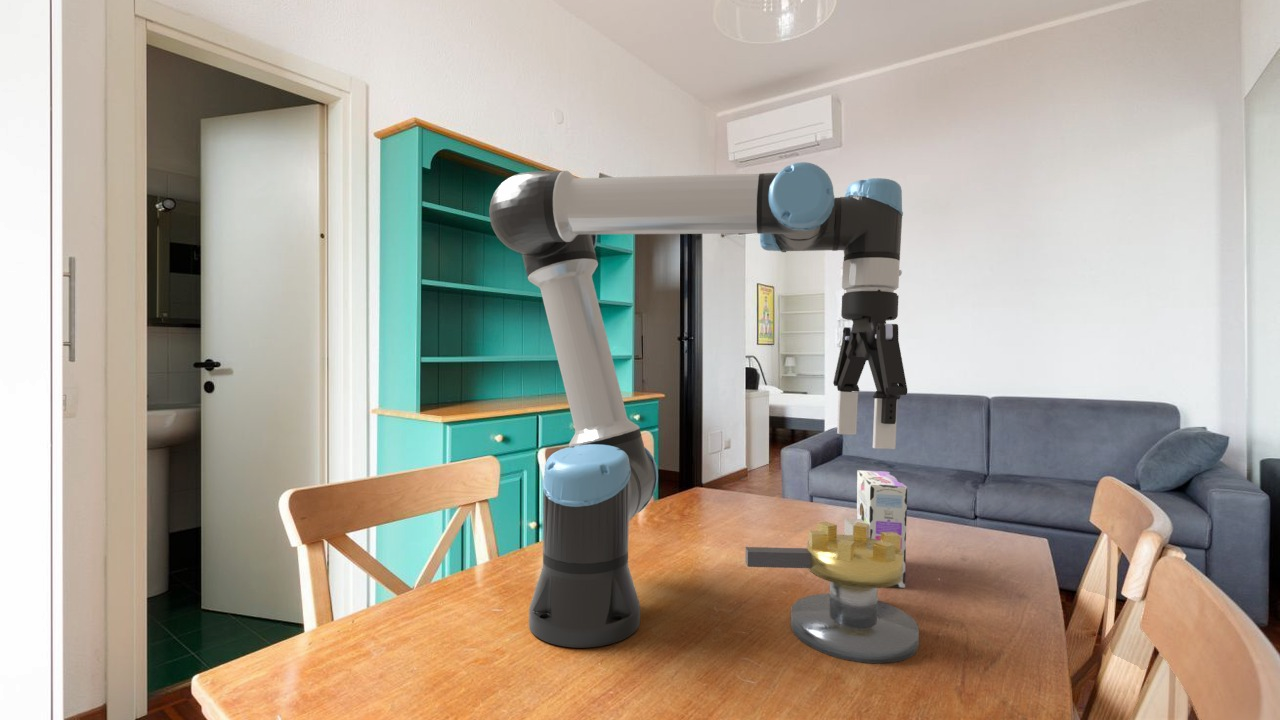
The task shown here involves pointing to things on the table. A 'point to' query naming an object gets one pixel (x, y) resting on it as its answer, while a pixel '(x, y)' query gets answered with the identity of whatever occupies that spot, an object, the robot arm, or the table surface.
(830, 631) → the nut base
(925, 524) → the table surface
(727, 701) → the table surface
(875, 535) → the candy box
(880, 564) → the gold studded disc
